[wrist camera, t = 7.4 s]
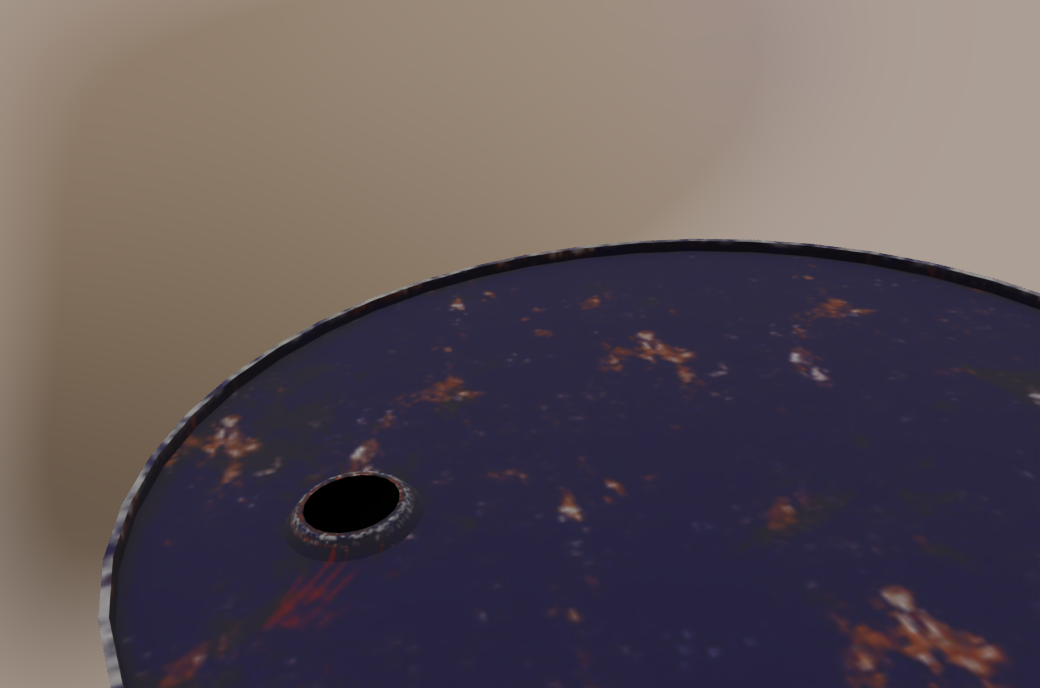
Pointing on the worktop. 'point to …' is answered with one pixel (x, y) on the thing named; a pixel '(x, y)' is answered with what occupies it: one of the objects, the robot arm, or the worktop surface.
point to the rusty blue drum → (606, 485)
